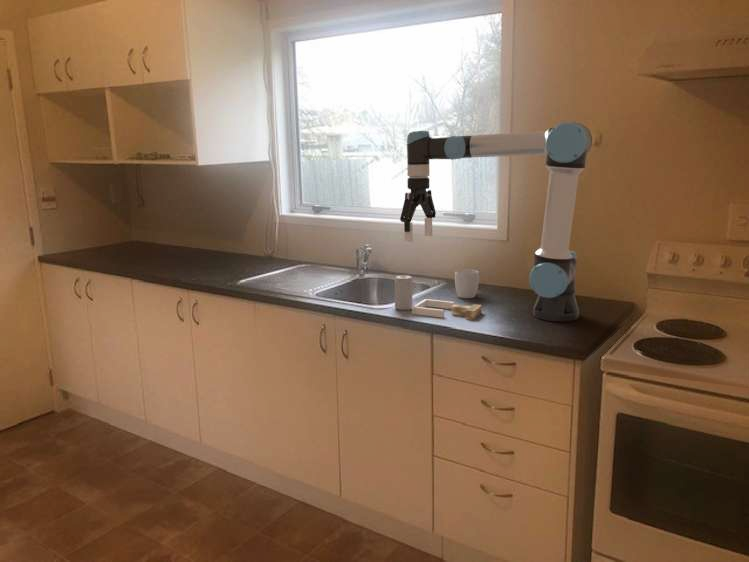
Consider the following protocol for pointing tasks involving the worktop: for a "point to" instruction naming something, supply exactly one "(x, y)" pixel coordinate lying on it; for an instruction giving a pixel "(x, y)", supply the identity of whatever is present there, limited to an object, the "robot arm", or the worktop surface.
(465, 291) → the mug
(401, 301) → the beverage can
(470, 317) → the t block
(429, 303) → the tray
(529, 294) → the worktop surface
